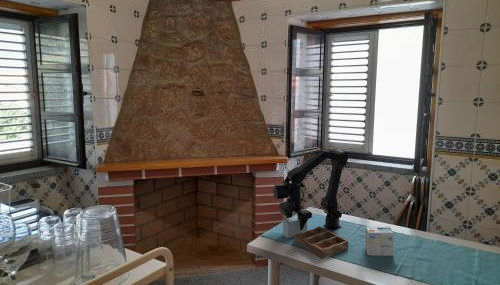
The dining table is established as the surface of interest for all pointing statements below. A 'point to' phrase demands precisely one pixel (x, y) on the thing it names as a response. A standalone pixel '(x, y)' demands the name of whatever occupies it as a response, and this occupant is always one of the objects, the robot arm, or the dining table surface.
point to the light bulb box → (379, 241)
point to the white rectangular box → (292, 227)
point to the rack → (321, 242)
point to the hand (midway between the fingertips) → (295, 226)
